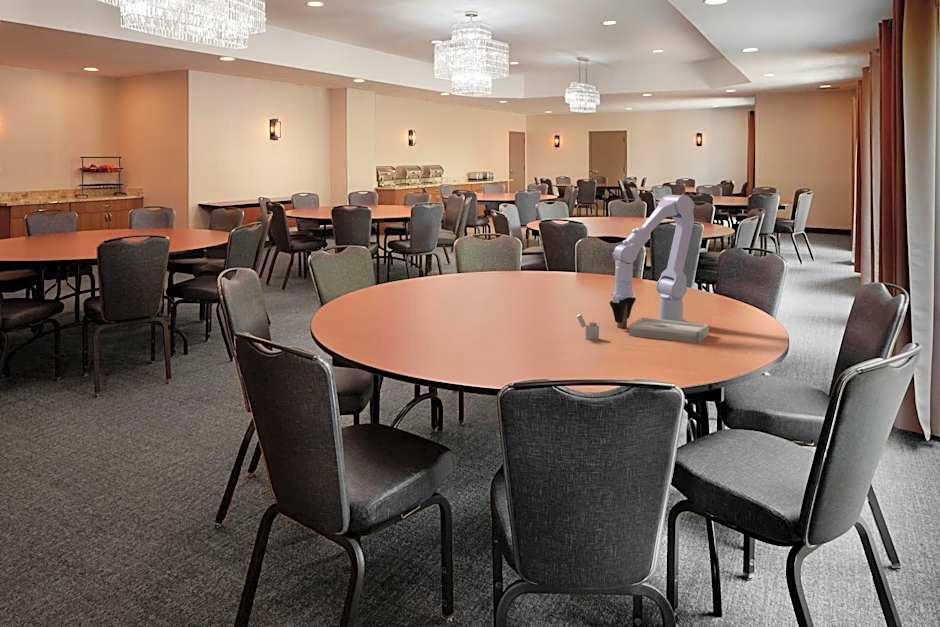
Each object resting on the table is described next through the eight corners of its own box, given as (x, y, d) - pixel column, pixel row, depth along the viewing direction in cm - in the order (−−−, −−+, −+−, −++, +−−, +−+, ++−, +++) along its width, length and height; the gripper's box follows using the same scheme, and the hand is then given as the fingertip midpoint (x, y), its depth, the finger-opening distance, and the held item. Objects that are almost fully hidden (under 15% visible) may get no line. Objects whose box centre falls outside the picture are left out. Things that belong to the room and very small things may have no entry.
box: (641, 327, 244) (642, 317, 243) (708, 335, 233) (709, 324, 232) (629, 335, 233) (629, 324, 233) (698, 343, 222) (699, 332, 221)
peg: (618, 325, 247) (619, 303, 245) (628, 327, 245) (628, 303, 244) (615, 327, 244) (616, 304, 243) (624, 328, 243) (625, 305, 241)
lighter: (598, 338, 229) (599, 313, 228) (598, 339, 228) (599, 314, 226) (576, 337, 231) (576, 313, 229) (576, 339, 229) (576, 314, 227)
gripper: (619, 276, 250) (618, 315, 252) (604, 282, 237) (603, 323, 240) (639, 278, 246) (637, 317, 249) (625, 284, 234) (623, 325, 237)
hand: (622, 320), depth 244 cm, fingers open, 6 cm apart
